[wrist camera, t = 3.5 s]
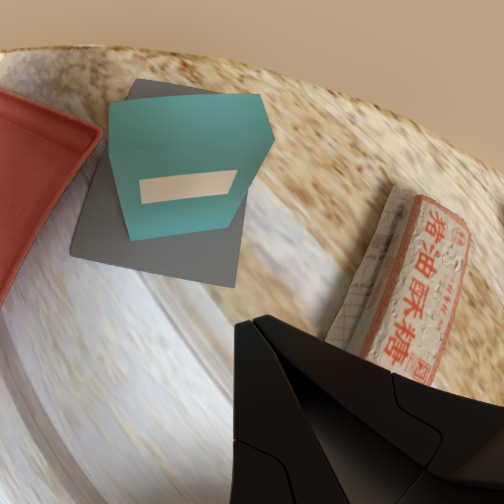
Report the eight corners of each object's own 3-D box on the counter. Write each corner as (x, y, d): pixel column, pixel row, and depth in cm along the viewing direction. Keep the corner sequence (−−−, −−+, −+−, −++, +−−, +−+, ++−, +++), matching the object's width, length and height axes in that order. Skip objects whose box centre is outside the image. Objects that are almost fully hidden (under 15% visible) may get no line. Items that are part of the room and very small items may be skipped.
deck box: (227, 227, 22) (275, 139, 13) (130, 241, 20) (108, 153, 11) (220, 192, 22) (259, 93, 13) (126, 204, 20) (109, 102, 11)
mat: (233, 288, 21) (234, 286, 21) (71, 256, 19) (69, 254, 18) (259, 105, 26) (260, 102, 26) (137, 81, 24) (137, 78, 24)
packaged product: (439, 425, 17) (339, 369, 17) (398, 418, 22) (305, 366, 21) (490, 231, 24) (420, 161, 24) (456, 247, 29) (388, 186, 28)
